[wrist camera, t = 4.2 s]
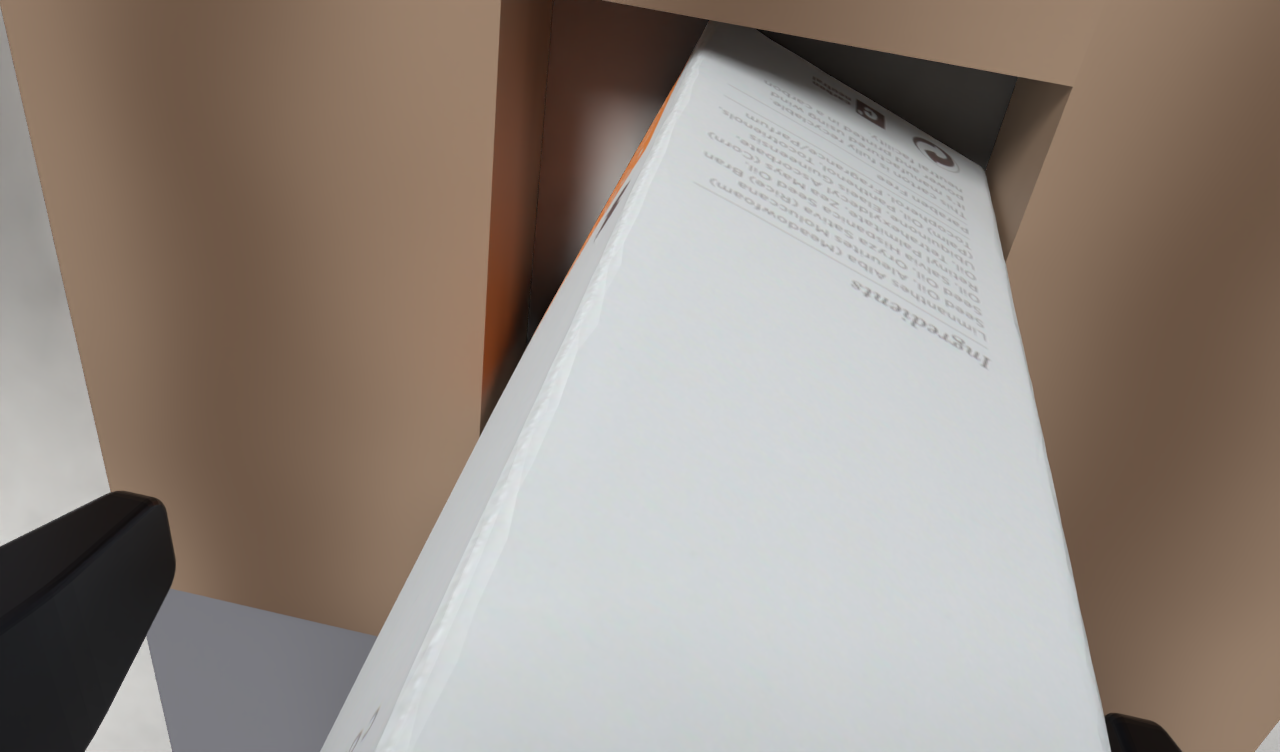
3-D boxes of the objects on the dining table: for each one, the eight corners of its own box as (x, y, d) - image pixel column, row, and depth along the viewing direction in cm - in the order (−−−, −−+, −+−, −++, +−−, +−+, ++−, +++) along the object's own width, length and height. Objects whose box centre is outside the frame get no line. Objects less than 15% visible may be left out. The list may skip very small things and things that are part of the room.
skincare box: (712, -7, 13) (272, 941, 3) (991, 162, 14) (1324, 1395, 4) (523, 334, 16) (34, 1289, 7) (751, 456, 17) (606, 1503, 7)
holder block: (1741, -173, 10) (1955, -135, 8) (1158, 698, 18) (1196, 825, 16) (62, -441, 12) (-107, -466, 10) (206, 485, 20) (130, 579, 18)
